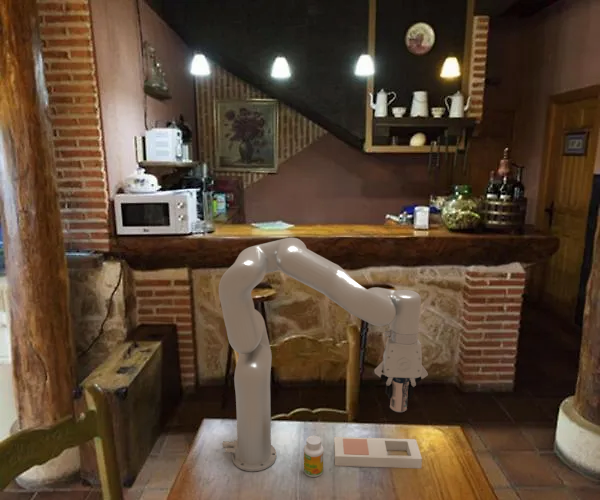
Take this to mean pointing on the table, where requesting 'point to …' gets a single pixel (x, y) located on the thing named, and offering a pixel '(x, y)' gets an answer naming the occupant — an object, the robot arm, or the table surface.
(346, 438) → the well board
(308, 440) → the supplement bottle
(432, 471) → the table surface
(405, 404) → the beer can
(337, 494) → the table surface
